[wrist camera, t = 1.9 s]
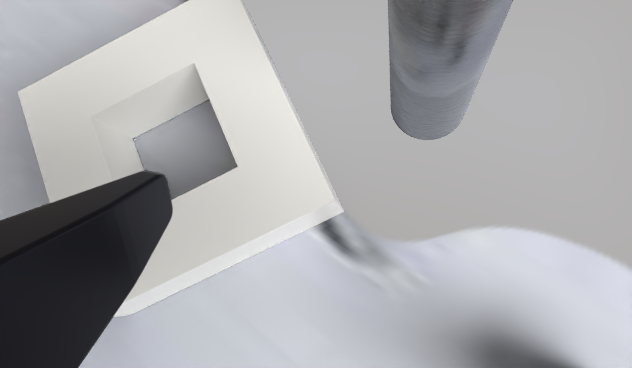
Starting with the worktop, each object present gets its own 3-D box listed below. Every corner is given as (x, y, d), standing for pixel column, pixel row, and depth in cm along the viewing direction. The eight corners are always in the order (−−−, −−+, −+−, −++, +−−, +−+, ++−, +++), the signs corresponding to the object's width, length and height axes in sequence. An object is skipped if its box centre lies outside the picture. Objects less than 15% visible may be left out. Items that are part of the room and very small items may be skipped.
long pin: (479, 119, 21) (598, -102, 9) (411, 152, 22) (433, -18, 9) (443, 59, 22) (505, -219, 10) (378, 91, 23) (357, -138, 10)
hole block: (344, 211, 22) (334, 199, 18) (131, 314, 22) (84, 321, 19) (252, 19, 25) (229, -22, 21) (67, 116, 26) (17, 91, 22)
